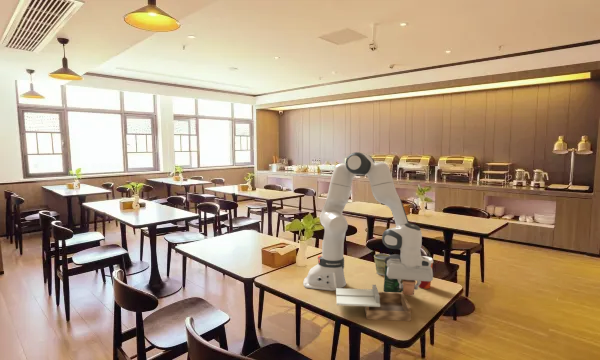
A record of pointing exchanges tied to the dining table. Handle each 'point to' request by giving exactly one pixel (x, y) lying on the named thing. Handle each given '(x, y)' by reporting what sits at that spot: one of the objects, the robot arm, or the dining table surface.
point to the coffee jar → (391, 284)
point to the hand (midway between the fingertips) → (408, 288)
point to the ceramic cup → (380, 263)
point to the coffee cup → (426, 283)
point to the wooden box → (390, 307)
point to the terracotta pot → (408, 287)
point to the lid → (358, 297)
